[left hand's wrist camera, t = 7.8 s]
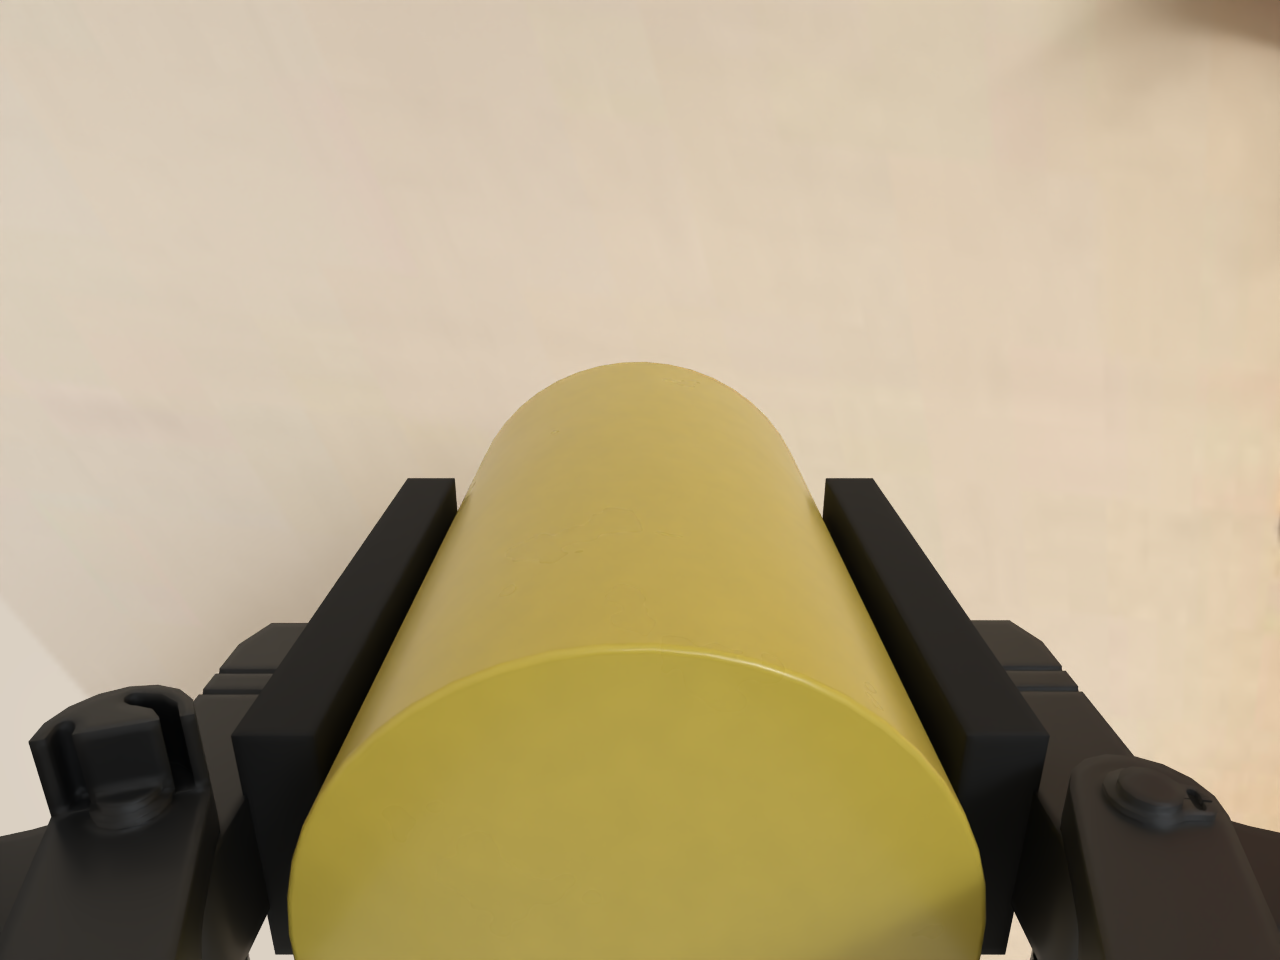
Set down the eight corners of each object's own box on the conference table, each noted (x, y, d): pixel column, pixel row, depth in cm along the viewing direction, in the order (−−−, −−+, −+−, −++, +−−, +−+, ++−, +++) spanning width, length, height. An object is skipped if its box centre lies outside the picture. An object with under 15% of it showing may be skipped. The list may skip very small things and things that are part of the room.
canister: (738, 698, 17) (830, 1222, 9) (440, 617, 16) (236, 1101, 8) (855, 420, 15) (1120, 762, 7) (520, 315, 14) (358, 552, 6)
